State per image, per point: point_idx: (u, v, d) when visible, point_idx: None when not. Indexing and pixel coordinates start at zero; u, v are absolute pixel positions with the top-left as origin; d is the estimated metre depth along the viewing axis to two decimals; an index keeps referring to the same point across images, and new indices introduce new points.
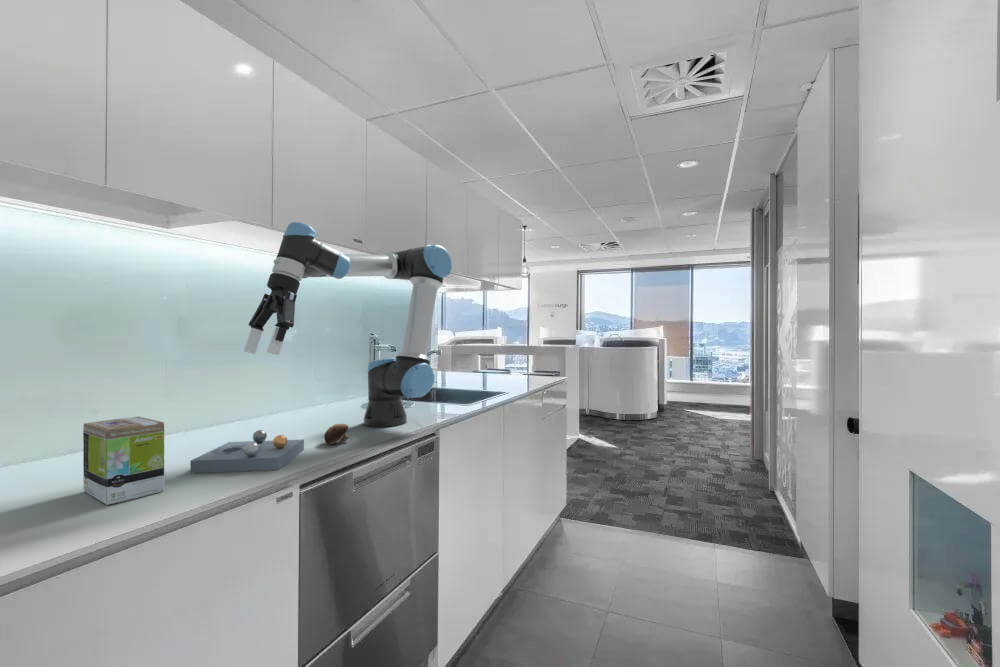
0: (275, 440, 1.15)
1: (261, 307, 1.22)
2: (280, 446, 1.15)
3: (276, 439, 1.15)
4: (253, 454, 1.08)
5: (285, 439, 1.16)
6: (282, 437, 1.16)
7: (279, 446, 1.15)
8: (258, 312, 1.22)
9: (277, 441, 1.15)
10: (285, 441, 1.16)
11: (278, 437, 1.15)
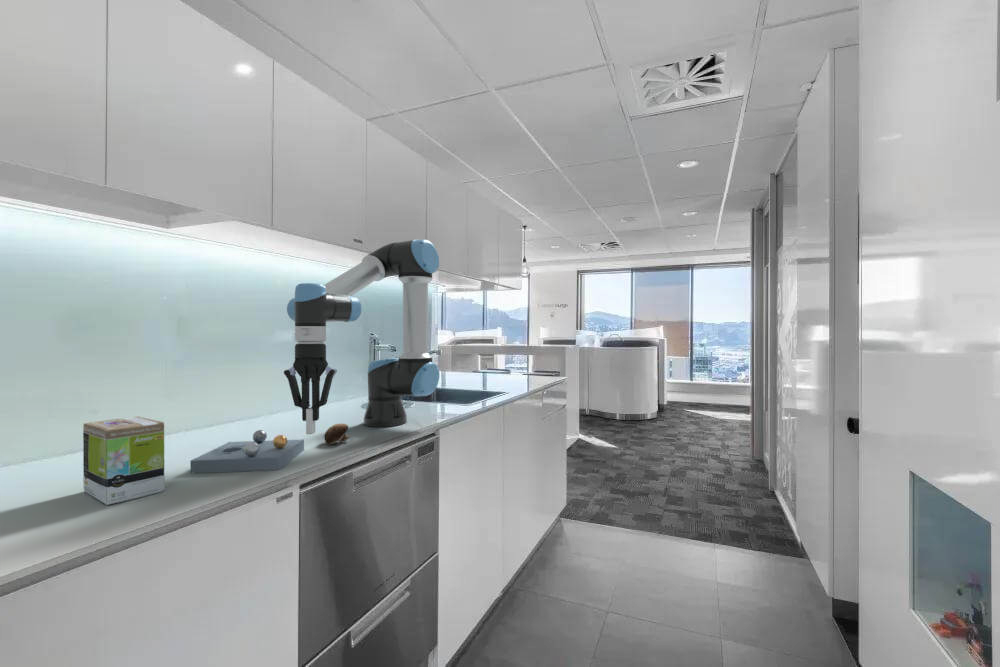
0: (275, 440, 1.15)
1: (294, 382, 1.16)
2: (280, 446, 1.15)
3: (276, 439, 1.15)
4: (253, 454, 1.08)
5: (285, 439, 1.16)
6: (282, 437, 1.16)
7: (279, 446, 1.15)
8: (295, 388, 1.16)
9: (277, 441, 1.15)
10: (285, 441, 1.16)
11: (278, 437, 1.15)
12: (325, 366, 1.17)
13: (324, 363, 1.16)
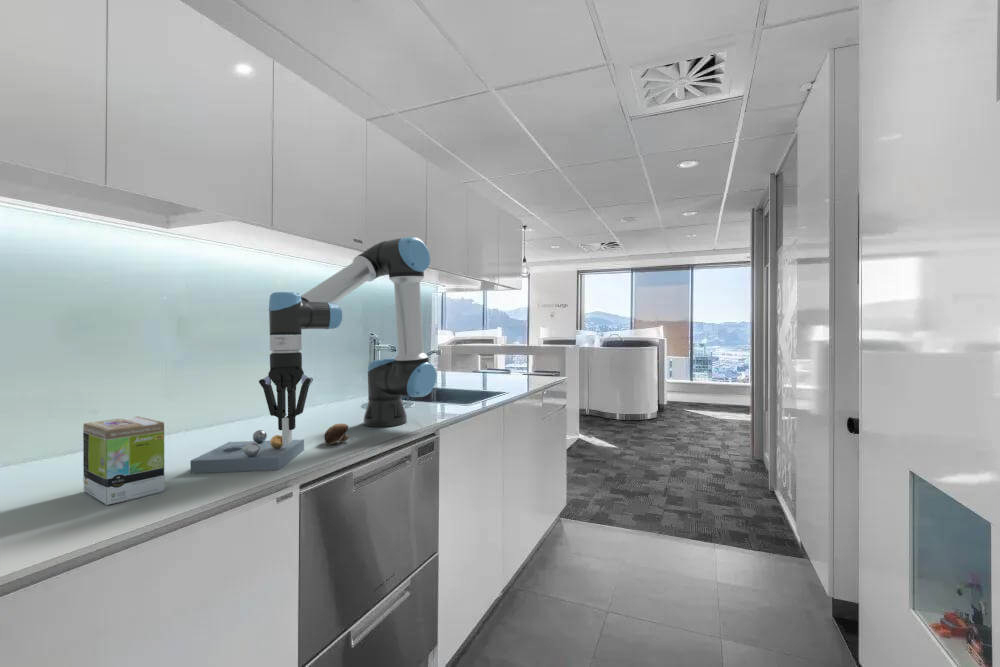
0: (272, 441, 1.15)
1: (269, 392, 1.15)
2: (279, 445, 1.15)
3: (272, 440, 1.15)
4: (253, 454, 1.08)
5: (281, 438, 1.16)
6: (278, 436, 1.16)
7: (278, 445, 1.15)
8: (271, 398, 1.15)
9: (274, 442, 1.15)
10: None
11: (274, 438, 1.15)
12: (301, 375, 1.16)
13: (300, 372, 1.16)
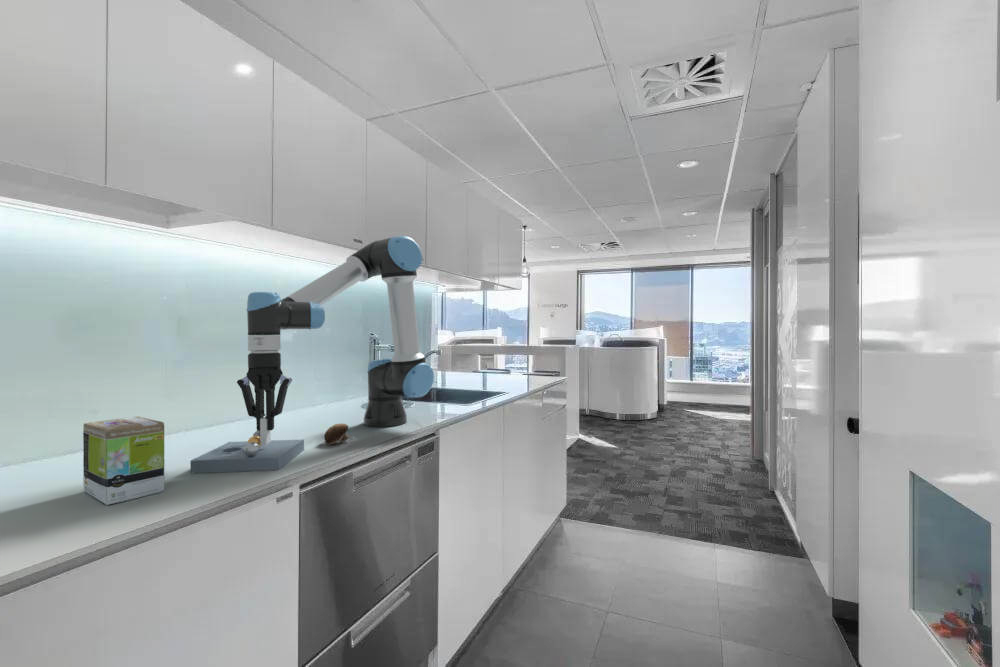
0: None
1: (247, 392, 1.15)
2: (249, 441, 1.14)
3: None
4: (253, 454, 1.08)
5: None
6: None
7: (249, 441, 1.14)
8: (249, 398, 1.15)
9: None
10: None
11: None
12: (279, 375, 1.15)
13: (278, 372, 1.15)
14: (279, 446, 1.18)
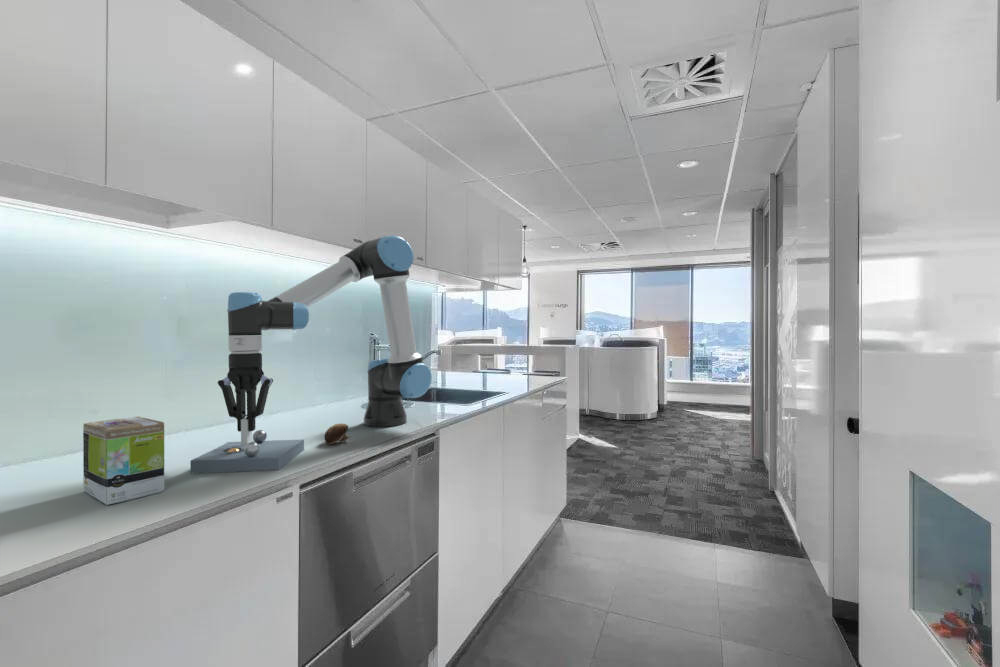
0: None
1: (228, 393, 1.14)
2: None
3: None
4: (253, 454, 1.08)
5: (233, 449, 1.15)
6: None
7: None
8: (230, 399, 1.14)
9: None
10: (235, 449, 1.15)
11: None
12: (260, 376, 1.15)
13: (259, 373, 1.15)
14: (279, 446, 1.18)
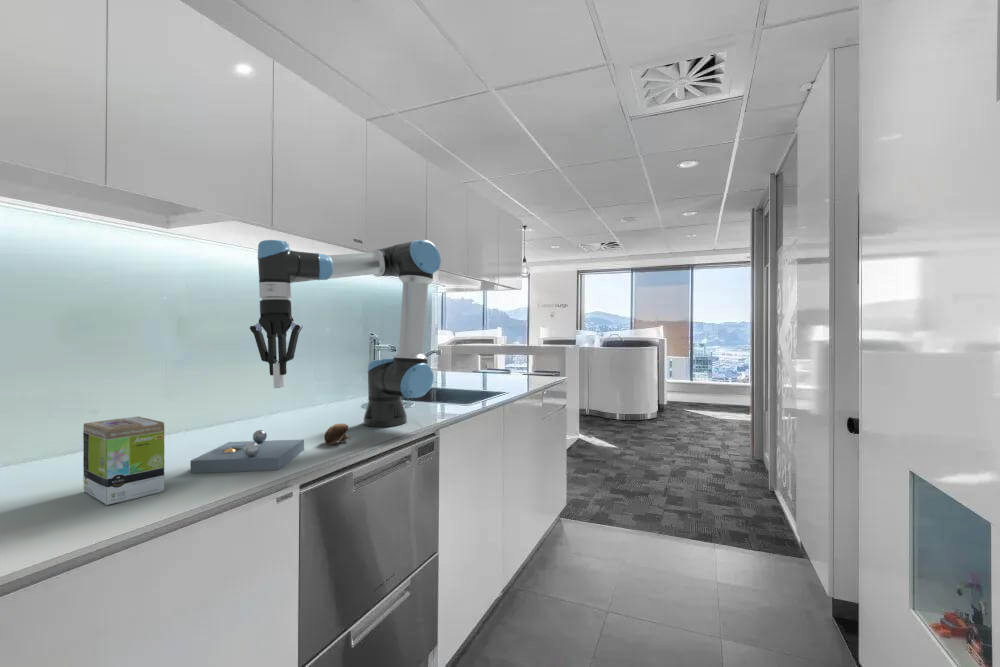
0: None
1: (260, 338, 1.18)
2: None
3: None
4: (253, 454, 1.08)
5: (225, 450, 1.15)
6: None
7: None
8: (262, 344, 1.18)
9: None
10: (227, 449, 1.15)
11: None
12: (290, 322, 1.19)
13: (289, 319, 1.19)
14: (279, 446, 1.18)
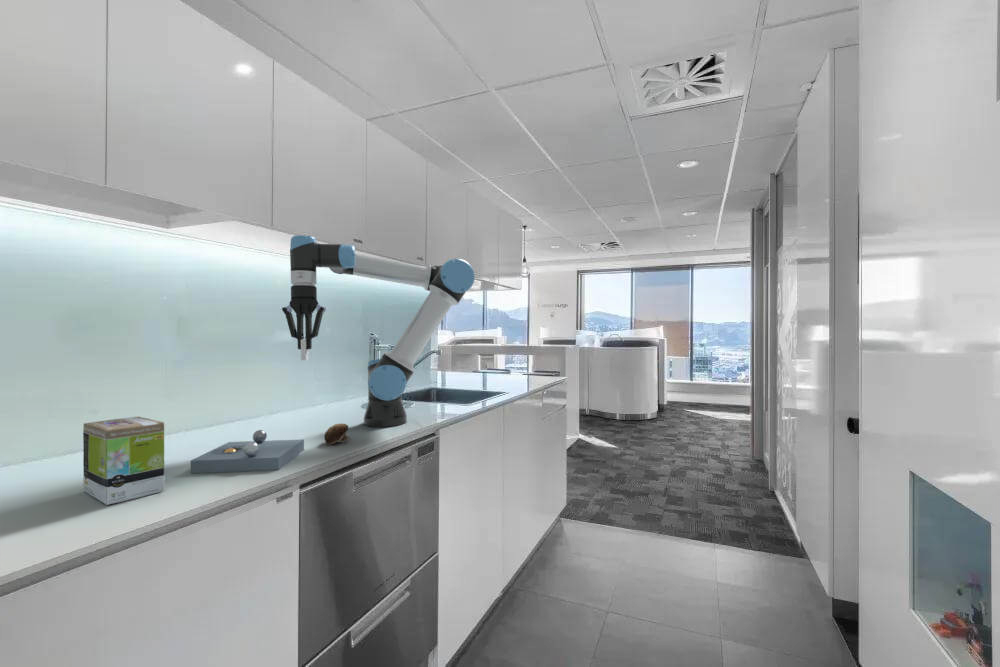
0: None
1: (290, 317, 1.41)
2: None
3: None
4: (253, 454, 1.08)
5: (226, 449, 1.15)
6: None
7: None
8: (292, 322, 1.41)
9: None
10: (228, 449, 1.15)
11: None
12: (316, 304, 1.41)
13: (315, 302, 1.41)
14: (279, 446, 1.18)
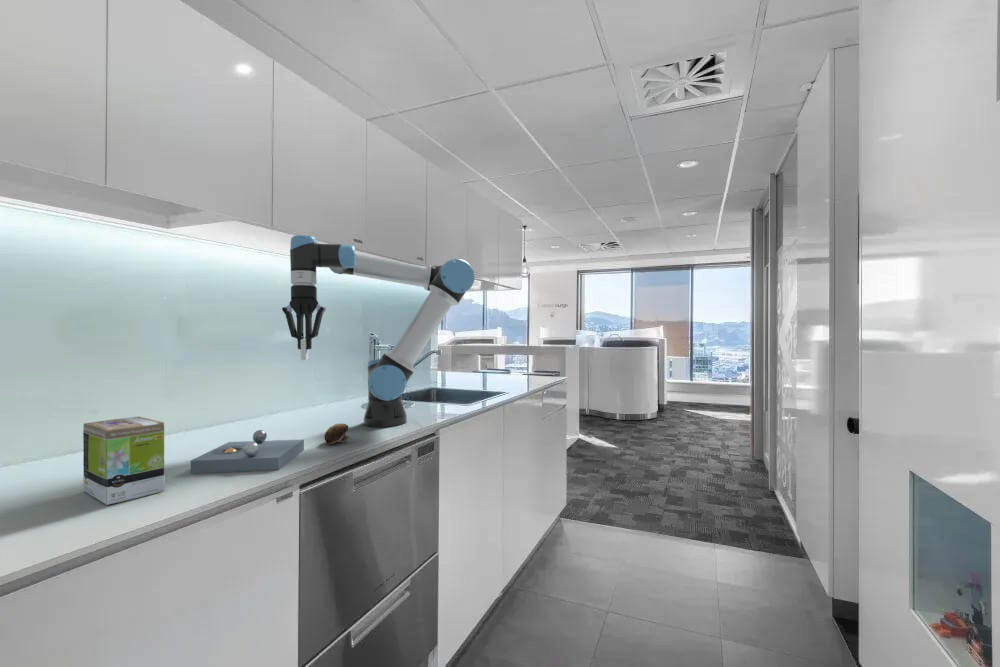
0: None
1: (290, 317, 1.41)
2: None
3: None
4: (253, 454, 1.08)
5: None
6: None
7: None
8: (292, 322, 1.41)
9: None
10: (228, 449, 1.15)
11: None
12: (316, 304, 1.41)
13: (315, 302, 1.41)
14: (279, 446, 1.18)
